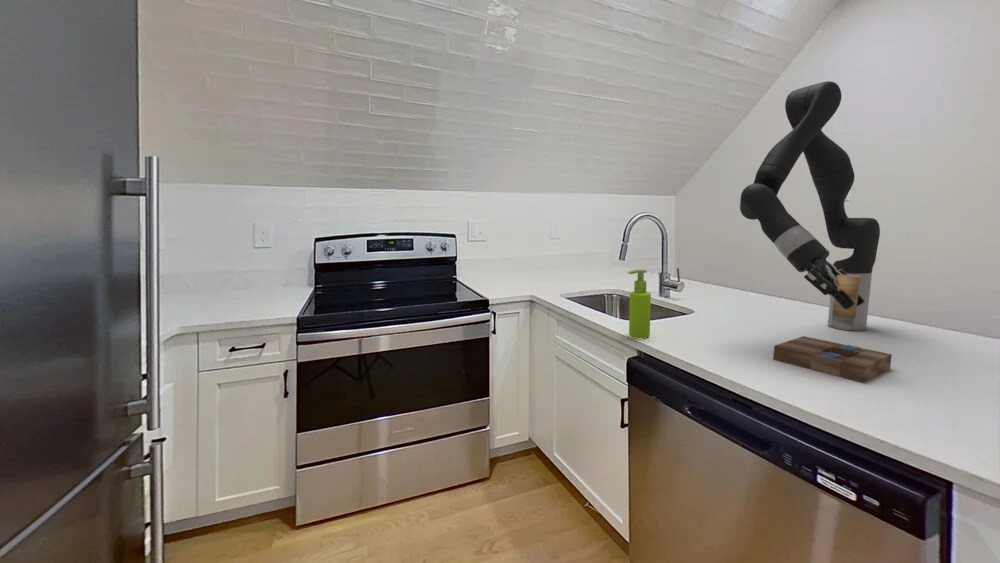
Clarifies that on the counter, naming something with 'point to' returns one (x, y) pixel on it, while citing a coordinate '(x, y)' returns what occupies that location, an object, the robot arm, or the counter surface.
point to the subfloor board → (833, 358)
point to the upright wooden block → (840, 315)
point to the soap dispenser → (639, 307)
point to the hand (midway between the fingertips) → (855, 305)
